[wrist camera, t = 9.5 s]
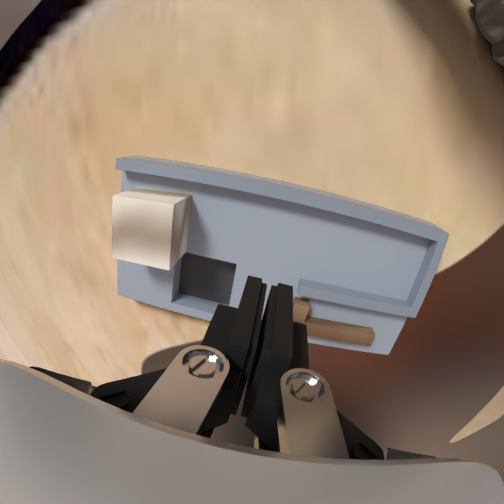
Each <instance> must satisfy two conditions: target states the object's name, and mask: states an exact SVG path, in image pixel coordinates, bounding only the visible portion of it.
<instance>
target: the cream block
mask: <svg viewBox="0 0 504 504" xmlns="http://www.w3.org/2000/svg"><path fill="white" fill-rule="evenodd" d="M191 196H192V195H191V194H184V193H178V192H171V191H164V190H156V189H149V188H141V187H136V188H133V189H130V190H127V191H124V192H121V193H118V194H116V195H113V207H112V256H113V258H116V259H120V260H125V261H129V262H133V263H138V264H142V265H146V266H151V267H155V268H160V269H164V270H170V269H171V268H172V267H173V266H174V265H175V264H176V262H177V261H178V260H179V259H180V258H181V257H182V256H183V255H184V254H185V253H186V248H187V236H188V225H189V215H190V205H191Z"/></svg>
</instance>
